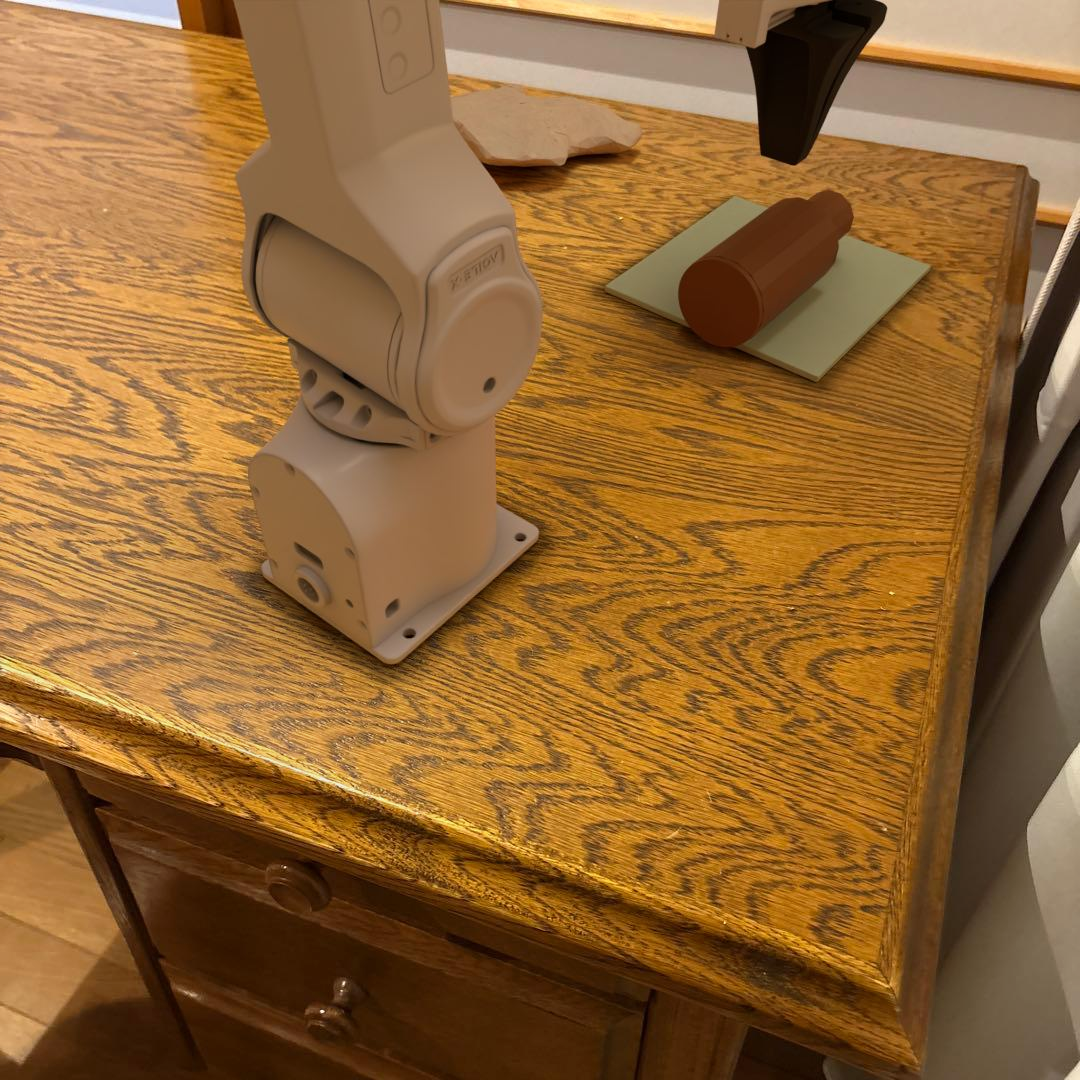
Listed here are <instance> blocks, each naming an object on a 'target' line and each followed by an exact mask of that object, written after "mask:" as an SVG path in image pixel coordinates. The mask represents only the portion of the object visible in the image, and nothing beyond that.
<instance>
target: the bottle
mask: <svg viewBox="0 0 1080 1080" xmlns="http://www.w3.org/2000/svg"><path fill="white" fill-rule="evenodd" d="M854 218H855V216H854V212H853V208H852V204H851V203H850V201H849V200H848V199H847V198H846V197H845V196H844V195H843V194H842V193H840V192H837V191H834V190H831V189H826V190H822V191H818V192H816V193H815V194H813V195H812V196H811V197H809V198H808V199H805V198H803V197H798V196H797V197H788V198H782V199H781V200H779V201H777V202H775V203H774V204H772V205H770V206H769V207H768V209H766V210H765V211H764V212H762V213H761V214H759V215H758V216H757V217H755V218H754V219H753V220H751V221H750V222H749V223H747V224H746V225H744V226H743V227H742V228H740V229H739V230H738V231H736V232H735V233H733V234H732V235H731V236H729V237H728V238H727V239H725V240H724V241H723V242H721V243H720V244H718V245H717V246H716V247H714V248H713V249H712V250H710V251H709V252H708V253H706V254H705V255H703V256H702V257H701V258H699V259H698V260H697V261H695V262H694V263H692V264H691V266H690V267H689V268H688V269H687V270H686V271H685V272H684V274H683V276H682V277H681V280H680V283H679V288H678V301H679V306H680V309H681V312H682V315H683V317H684V319H685V321H686V322H687V324H688V325H689V327H690V328H689V327H688V328H689V329H691V331H693V333H694V334H695V335H697V336H698V337H699V338H700V339H701V340H703V341H705V342H706V343H709V344H711V345H712V346H716V347H720V348H735V346H739V345H741V344H743V343H745V342H746V341H748V340H749V339H751V338H752V337H754V336H755V335H756V334H757V333H758V332H759V331H761V330H762V329H763V328H764V327H765V326H766V325H768V324H769V323H770V322H771V321H772V320H773V319H774V318H776V317H777V316H778V315H779V314H780V313H781V312H783V311H784V310H785V309H786V308H787V307H788V306H789V305H791V304H792V303H793V302H794V301H795V300H796V299H798V298H799V297H800V296H801V295H802V294H803V293H805V292H806V291H807V290H808V289H809V288H810V287H811V286H813V285H814V284H815V283H816V282H817V281H818V280H820V279H821V278H822V277H823V276H824V275H825V274H826V273H827V272H828V271H829V269H830V268H831V267H832V266H833V264H834V263H835V261H836V257H837V253H838V249H839V243H838V241H839V240H840V239H841V238H842V237H843V236H844V235H847V234H848V233H849V232H850V231H851V230H852V225H853V222H854Z"/></svg>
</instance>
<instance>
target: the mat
mask: <svg viewBox="0 0 1080 1080" xmlns="http://www.w3.org/2000/svg"><path fill="white" fill-rule="evenodd" d="M768 208H769V207H767V206H765V205H762V204H759V203H757V202H754V201H750V200H749V199H745V198H743V197H739V196H737V195H733V196H732V197H731V198H729V199H728V200H727V201H725V202H724V203H722V204H721V205H719V206H717V208H715V209H714V210H712V211H711V212H709V213H708V214H706V215H705V216H703V217H702V218H700V219H698V220H697V221H696V222H695V223H693V224H692V225H690V226H689V227H688V228H686V229H684V230H683V231H682V232H680V233H679V234H678V235H676V236H675V237H673V238H672V239H670V240H669V241H667V242H666V243H664V244H663V245H662V246H660V247H659V248H657V249H656V250H654V251H653V252H651V253H649V254H648V255H647V256H646V257H645V258H643V259H641V260H640V261H638V262H637V263H636V264H635V265H633V266H632V267H630V268H628V269H626V270H625V271H624V272H623V273H621V274H620V275H619V276H617V277H615V278H614V279H613V280H611V281H610V282H608V283H607V284H606V285H605V286H604V292H605V293H608V294H610V295H612V296H614V297H617V298H618V299H621V300H624V301H625V302H628V303H631V304H633V305H636V306H638V307H640V308H642V309H644V310H646V311H649V312H651V313H653V314H656V315H658V316H661V317H663V318H666V319H667V320H670V321H672V322H674V323H677V324H680V325H682V326H684V327H686V328H689V329H691V328H690V327H689V325H688V324H687V322H686V321H685V319H684V317H683V315H682V312H681V309H680V306H679V301H678V288H679V283H680V280H681V277H682V276H683V274H684V272H685V271H686V270H687V269H688V268H689V267H690V266H691V264H692V263H694V262H695V261H697V260H698V259H699V258H701V257H702V256H703V255H705V254H706V253H708V252H709V251H710V250H712V249H713V248H714V247H716V246H717V245H718V244H720V243H721V242H723V241H724V240H725V239H727V238H728V237H729V236H731V235H732V234H733V233H735V232H736V231H738V230H739V229H740V228H742V227H743V226H744V225H746V224H747V223H749V222H750V221H751V220H753V219H754V218H755V217H757V216H758V215H759V214H761V213H762V212H764V211H765V210H766V209H768ZM838 243H839V249H838V253H837V257H836V261H835V263H834V264H833V266H832V267H831V268H830V269H829V271H828V272H827V273H826V274H825V275H824V276H823V277H822V278H821V279H820V280H818V281H817V282H816V283H815V284H814V285H813V286H811V287H810V288H809V289H808V290H807V291H806V292H805V293H803V294H802V295H801V296H800V297H799V298H798V299H796V300H795V301H794V302H793V303H792V304H791V305H789V306H788V307H787V308H786V309H785V310H784V311H783V312H781V313H780V314H779V315H778V316H777V317H776V318H774V319H773V320H772V321H771V322H770V323H769V324H768V325H766V326H765V327H764V328H763V329H762V330H761V331H759V332H758V333H757V334H756V335H755V336H754V337H752V338H751V339H749V340H748V341H746V342H745V343H743V344H741V345H739V346H735V347H734V348H735V349H738V350H740V351H742V352H745V353H747V354H749V355H752V356H754V357H756V358H759V359H761V360H763V361H766V362H768V363H770V364H772V365H775V366H777V367H779V368H781V369H784V370H787V371H788V372H791V373H793V374H796V375H798V376H801V377H803V378H805V379H807V380H809V381H812V382H815V383H818V382H819V381H820V380H821V379H822V378H824V376H825V375H826V374H827V373H828V372H829V371H830V370H831V369H832V368H833V367H834V366H835V365H836V364H837V363H838V362H839V361H840V360H841V359H842V358H843V357H844V356H845V355H847V353H848V352H849V351H850V350H851V349H853V347H854V346H855V345H856V344H857V343H858V342H859V341H860V340H861V339H862V338H863V337H864V336H865V335H866V334H868V332H870V330H872V329H873V328H874V326H876V324H878V323H879V321H881V319H883V318H884V317H885V316H886V314H888V313H889V312H890V311H891V310H892V309H893V308H894V307H895V306H896V305H897V304H898V303H899V302H900V301H901V300H902V299H903V298H904V297H905V296H906V295H907V294H908V293H909V292H910V291H911V290H912V289H913V288H914V287H915V286H916V285H917V284H918V283H919V282H920V281H921V280H922V279H923V278H924V277H925V276H927V274H928V273H929V272H930V271H931V267H932V265H931V264H928V263H925V262H923V261H920V260H917V259H914V258H911V257H908V256H905V255H902V254H900V253H898V252H894V251H892V250H889V249H886V248H883V247H881V246H878V245H874V244H871V243H869V242H866V241H863V240H860V239H858V238H855V237H852V236H849V235H847V234H845V235H844V236H843V237H842V238H841V239H840V240H839V241H838Z"/></svg>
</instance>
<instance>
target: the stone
mask: <svg viewBox="0 0 1080 1080" xmlns="http://www.w3.org/2000/svg"><path fill="white" fill-rule="evenodd" d="M450 97H451V105H452V114H453V122H454V124H455V126H456V128H457V130H458V131H459V133H460V134H461V136H462V137H463V139H464V140H465V142H466V143H467V144H468V146H469V147H470V149H471V150H472V151H473V153H474V154H475V155H476V157H477V158H478V159H479V161H480V162H481V163H482V164H486V165H490V166H495V167H524V168H527V167H539V166H540V167H541V166H543V167H544V166H546V167H547V166H548V167H549V166H554V167H555V166H556V167H560V166H563V165H565V164H566V161H567V159H569V158H573V157H578V156H586V155H603V154H606V155H607V154H619V153H620V154H621V153H623V152H625V151H627V150H630V149H632V148H633V147H635V146H636V145H637V144H638V143H639V142H640V141H641V139H642V137H643V135H644V134H643V128H642V126H641V124H639V123H636V122H632V121H629V120H627V119H624V118H622V117H621V116H619V115H618V114H616V113H615V111H614V110H612V109H610V108H609V107H607V106H604V105H600V104H599V103H598V104H597V103H594V102H590V101H588V100H583V99H580V98H576V97H573V96H570V95H569V96H553V97H550V96H543V97H542V96H532V95H529V94H526V93H525V90H524V87H523V85H522V84H518V83H508V84H505V85H503V86H501V87H497V88H491V89H484V90H483V89H482V90H478V91H477V90H476V91H472V92H467V93H462V94H456V95H453V96H450Z"/></svg>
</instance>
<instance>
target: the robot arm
mask: <svg viewBox="0 0 1080 1080" xmlns="http://www.w3.org/2000/svg"><path fill="white" fill-rule="evenodd" d="M232 1H233V4H234V8H235V12H236V15H237V19H238V23H239V27H240V30H241V34H242V38H243V42H244V45H245V49H246V53H247V55H248V56H247V57H248V60H249V64H250V68H251V72H252V74H253V79H254V83H255V86H256V90H257V94H258V97H259V101H260V105H261V109H262V112H263V116H264V120H265V124H266V127H267V131H268V134H269V137H268V138H267V139H266V140H265V141H264V142H262V143H261V144H260V145H259V146H258V147H257V148H256V149H255V150H254V151H253V152H252V153H251V154H250V155H249V156H248V158H247V159H246V160H245V161H244V162H243V164H242V165H241V166H240V167H239V169H237V171H236V173H235V178H234V179H235V183H236V186H237V189H238V192H239V193H238V194H239V196H240V199H241V204H242V208H243V213H244V227H245V228H244V229H245V232H244V240H243V246H242V254H241V262H240V263H241V266H240V267H241V268H240V269H241V271H240V273H241V275H240V276H241V283H242V288H243V289H242V290H243V293H244V295H245V297H246V300H247V304H248V305H249V307H250V309H251V310H252V312H253V314H254V316H256V317H257V318H258V319H259V321H260V322H261V323H262V324H264V325H265V326H266V327H268V329H270V330H272V331H273V332H275V333H277V334H279V335H281V336H282V337H284V338H287V346H288V351H289V357H290V361H291V366H292V368H293V369H295V370H296V371H297V373H298V375H297V376H298V381H299V386H300V387H299V388H300V394H299V396H298V399H297V402H296V403H295V407H294V408H293V410H292V412H291V413H290V414H289V416H288V418H287V419H286V422H285V423H284V424H283V425H282V427H281V428H280V429H279V430H278V431H277V432H276V433H275V434H274V435H273V437H272V438H270V439H269V441H267V442H266V443H265V444H264V445H263V446H262V447H261V448H259V450H257V451H256V453H255V454H253V456H252V457H251V459H250V460H249V463H248V467H247V481H248V486H249V489H250V494H251V497H252V502H253V504H254V509H255V513H256V516H257V521H258V524H259V529H260V532H261V536H262V540H263V544H264V547H265V552H266V555H267V559H266V560H265V561H264V562H262V564H261V566H260V570H261V575H262V576H263V578H264V579H266V580H267V581H269V582H270V583H271V584H273V585H274V586H275V587H276V588H278V589H280V590H281V591H283V592H284V594H287V595H288V596H289V597H291V598H292V599H293V600H295V601H297V602H298V603H299V604H301V605H302V606H304V607H305V608H306V609H308V610H309V611H310V612H312V613H314V614H315V615H316V616H318V617H319V618H320V619H322V620H323V621H325V623H328V624H329V625H331V626H332V627H333V628H334V629H336V630H338V631H339V632H341V633H342V634H343V635H345V636H346V637H347V638H349V639H350V640H352V641H353V642H354V643H356V644H357V645H359V646H360V647H361V648H363V649H364V650H365V651H367V652H368V653H370V654H371V655H373V656H374V657H375V658H377V659H378V660H379V661H381V662H382V663H384V664H386V665H395V664H399V663H400V662H402V661H403V660H404V659H405V658H406V657H408V656H409V655H410V654H411V653H412V652H413V651H414V650H416V649H417V648H418V647H419V646H420V645H421V644H422V643H424V641H426V640H427V639H428V638H429V637H430V636H432V635H433V633H435V632H436V631H437V630H438V629H440V627H442V626H443V625H444V624H445V623H446V622H447V621H448V620H449V619H451V618H452V617H453V616H454V615H455V614H456V613H457V612H458V611H460V610H461V609H462V608H463V607H464V606H465V605H467V604H468V603H469V602H470V601H471V600H472V599H473V598H474V597H475V596H476V595H478V594H479V593H480V592H481V591H482V590H484V589H485V588H486V587H487V586H488V585H489V584H490V583H491V582H493V581H494V580H495V579H496V578H497V577H498V576H499V575H500V574H501V573H502V572H504V571H505V570H507V568H509V566H511V565H512V564H513V563H514V562H515V561H517V559H518V558H520V557H521V556H522V555H523V554H524V553H525V552H527V551H528V550H529V549H530V548H531V547H532V546H533V545H534V544H536V543H537V541H538V540H539V535H540V534H539V533H540V530H539V528H538V527H537V526H536V525H535V524H533V523H531V522H529V521H527V520H526V519H524V518H522V517H520V516H519V515H517V514H515V513H514V512H511V511H510V510H508V509H506V508H505V507H503V506H501V505H500V504H498V503H497V453H496V449H497V448H496V447H497V446H496V445H497V444H496V415H497V414H499V413H500V412H501V411H502V410H503V409H504V408H505V407H506V406H507V405H508V404H509V403H510V402H511V401H512V400H513V398H514V397H515V396H516V395H517V394H518V392H519V391H520V389H521V387H522V386H523V385H524V383H525V381H526V379H527V378H528V376H529V374H530V372H531V370H532V368H533V366H534V363H535V361H536V358H537V354H538V351H539V349H540V344H541V339H542V333H543V332H542V331H543V318H544V309H543V299H542V293H541V288H540V286H539V284H538V281H537V279H536V277H535V275H534V274H533V273H532V271H531V270H530V269H529V267H528V265H527V264H526V262H525V261H524V258H523V256H522V253H521V250H520V246H519V240H518V239H519V238H518V229H517V218H516V217H517V216H516V211H515V209H514V208H513V205H512V204H511V202H510V201H509V200H508V198H507V197H506V195H505V194H504V192H503V191H502V190H501V188H500V187H499V185H498V184H497V182H496V180H494V178H493V177H492V176H491V174H490V172H488V170H487V168H486V167H485V166H484V165H483V162H480V161H479V159H478V158H477V157H476V155H475V154H474V153H473V151H472V150H471V149H470V147H469V146H468V144H467V143H466V142H465V140H464V139H463V137H462V136H461V134H460V133H459V131H458V130H457V128H456V126H455V124H454V122H453V114H452V105H451V97H452V96H451V90H450V89H451V87H450V80H449V73H448V64H447V57H446V48H445V40H444V29H443V23H442V13H441V5H440V0H232ZM717 5H718V7H717V13H716V20H715V28H714V34H713V36H714V38H715V39H719V40H721V41H722V40H723V41H726V42H729V43H733V44H736V45H741V46H743V47H745V49H746V52H747V56H748V60H749V63H750V67H751V72H752V76H753V81H754V88H755V100H756V110H757V113H756V114H757V124H758V125H757V128H758V129H757V131H758V142H759V152H760V156H762V157H765V158H767V159H771V160H774V161H776V162H780V163H783V164H786V165H789V166H791V167H795V166H797V165H798V164H800V163H802V162H803V161H805V160H806V159H807V158H808V156H809V155H810V154H811V153H810V152H811V151H812V149H813V147H814V145H815V143H816V141H817V139H818V137H819V135H820V133H821V131H822V128H823V125H824V123H825V122H826V119H827V117H828V114H829V112H830V110H831V108H832V105H833V104H834V102H835V100H836V97H837V95H838V94H839V93H838V92H839V91H840V89H841V87H842V85H843V83H844V81H845V80H846V78H847V76H848V75H849V72H850V71H851V70H852V67H853V66H854V64H855V62H856V60H858V58H859V56H861V53H862V51H863V50H864V49H865V48H866V47H867V45H868V44H869V42H870V41H871V39H872V38H873V37H874V36H875V34H876V33H877V32H878V31H879V29H880V28H881V27H882V26H883V24H884V22H885V20H886V16H887V12H888V6H887V4H885V2H882V1H880V0H718V4H717ZM519 540H520V541H519ZM521 540H522V541H521ZM411 635H412V636H413V637H411V638H408V637H407V636H411Z"/></svg>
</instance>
